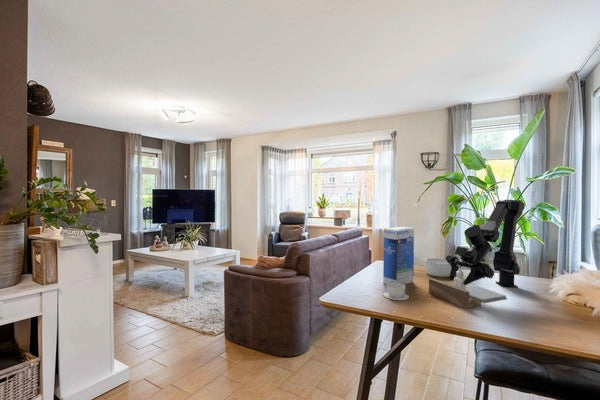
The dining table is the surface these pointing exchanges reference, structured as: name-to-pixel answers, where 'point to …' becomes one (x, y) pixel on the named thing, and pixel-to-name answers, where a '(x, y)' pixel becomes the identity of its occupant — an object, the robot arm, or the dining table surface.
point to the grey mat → (483, 294)
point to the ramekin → (438, 267)
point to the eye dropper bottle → (459, 280)
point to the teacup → (396, 291)
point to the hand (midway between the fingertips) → (457, 282)
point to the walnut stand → (452, 294)
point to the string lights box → (398, 255)
